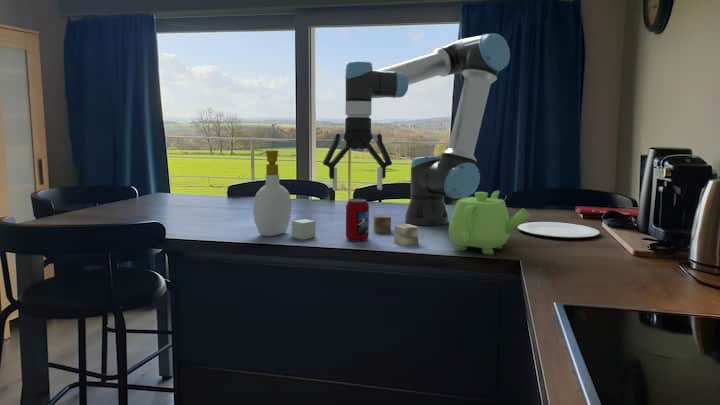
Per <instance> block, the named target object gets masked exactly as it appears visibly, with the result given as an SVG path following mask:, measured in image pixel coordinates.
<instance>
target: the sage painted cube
mask: <svg viewBox="0 0 720 405" xmlns="http://www.w3.org/2000/svg"><path fill="white" fill-rule="evenodd" d="M291 237H292V238H295V239H299V240H307V239H306V238H308V239H313V238H316V221H315V220H311V219H306V218H304V219H297V220H292V221H291ZM312 237H313V238H312Z"/></svg>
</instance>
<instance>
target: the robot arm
mask: <svg viewBox="0 0 720 405" xmlns="http://www.w3.org/2000/svg"><path fill="white" fill-rule="evenodd" d="M510 51H511V50H510V47H509V45H508V42H507V40H506V38H504V37H503V36H502V35H501V34H498V33H493V32H492V33H483V34H481V35H476V36H471V37H465V38H460V39H458V40H455V41H454V42H452V43H449V44H446V45H444V46H441V47H438V48H435V49H434V50H433V52H432V53H429V54H426V55H423V56H419V57H415V58H413V59H409V60H406V61H403V62H401V63H397V64H393V65H391V66H387V67H383V68H380V69H377V70H376V69H373V63H372V62H370V61H366V60H356V61H355V60H353V61H352V60H351V61H349V62H347V63H346V68H345V77H344V79H345V110H344V111H345V112H344V113H345V116H347V117H346V118H345V119H344V120H345V123H344V124H345V126H344V134H341V133H338V132H336V133H334V135H333V141H332V143H331V145H330V147H329V149H328V151H327V153H326V154H325V155H326V156H325V158H324V159H323V162H322V165H323V166H326V167H328V170H329V172H328V175H329V179H330V180H332V190H333V191H334V192H336V191H337V190H338V167H336V166H337V165H338V163H339V162H340V161H341V160H342V158H344V156H345V155H346V153H347V152H349V151H350V149H352V150H364V149H365V150H367V152H368V153H369V154H370V156H372V158H373V159H374V161H376V163H377V164H378V167H376V168H377V170H376V171H377V174H376V175H377V177H376V178H377V179H376V181H377V182H376V190H379V191H382V190H383V179H386V173H387V172H386V170H387V169H386V168H387V167H389V166H392V165H393V162H392V160H391V158H390V155H389V153H388V151H387V149H386V147H385V144H384V142H383V135H382V134H381V133H376V134H372V118H371V117H370V116H372V101H373V100H372V99H381V98H393V99H396V98H403V97H405V96H406V94H407V92H408V90H409V85H412V84H416V83H419V82H422V81H425V80H429V79H431V78H434V77H437V76H439V77H447V76H451V75H458V74H459V75H460V74H462V76H463V77H464V80H463V85H462V89H461V92H460V93H461V94H460V97H459V102H458V106H457V110H456V113H455V119H454V122H453V126H452V130H451V135H450V138H449V142H448V146H447V149H446V150H444V151H443V152H441V155H433V156H420V157H415V158H413V159H412V161H411V166H410V201H409V204H408V206H407V209H406V212H405V215H404V216H405V219H404V222H405V223H406V224H410V225H414V226H441V225H442V226H443V225H447V224H448V223H449V214H448V211H447V207H446V204H445V197H447V198H448V197H449V198H452V199H463V198H468V197H471V196H472V195H473V194H475V192H476V191H477V189H478V186H479V184H480V181H481V173H480V169H479V168H478V166H476V165H477V158H476V157H475V155H474V154H475V150H476V145H477V142H478V138H479V133H480V131H481V130H480V129H481V126H482V122H483V117H484V113H485V109H486V107H487V106H486V104H487V102H488V101H487V100H488V96H489V92H490V88H491V86H492V84H493V83H494V82H496V81H497V79H498V77H499V76H498V75H499V73H500V71H502V70H504V69H505V68H506V67H508V64H509V63H510V58H511V52H510ZM342 140H344V141H345V142H346V143H345V144H344V145H343V146H342V148H341V150H340V151H339V152H338V153H337V154H336V156H334V154H335V151H336V150H337V148H338V146H339V144H340V142H341V141H342ZM372 140H373V141H374V142H375V143H376V145H377V147H378V150H379V152H380V154H381V156H380V155H379V154H378V152H377V151H376V150H375V148H374V147H373V145H372V144H371V142H372ZM333 156H334V157H333ZM381 157H382V158H383V159H382V158H381ZM332 158H333V159H332Z"/></svg>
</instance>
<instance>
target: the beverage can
mask: <svg viewBox="0 0 720 405" xmlns="http://www.w3.org/2000/svg"><path fill="white" fill-rule="evenodd" d="M369 223H370V205H369V203H368V201H367V199H365V198H349V199H348V201H347V203H346V204H345V238H346V239H348V240H349V241H352V242H364V241H366V240H367V239H368V238H369V231H370V230H369V228H370V227H369V226H370V225H369Z"/></svg>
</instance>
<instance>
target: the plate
mask: <svg viewBox="0 0 720 405" xmlns="http://www.w3.org/2000/svg"><path fill="white" fill-rule="evenodd" d="M517 230H519V231H520V232H523V233H526V234H530V235H534V236H537V237H543V238H551V239H564V240H566V239H567V240H574V239H575V240H576V239H578V240H579V239H588V238H589V239H590V238H594V237H597V236H599V235H600V234H601V232H600V230H598V229H596V228H593V227H591V226H587V225H582V224H577V223H576V224H574V223H566V222H559V221H558V222H556V221H533V222H532V221H531V222H525V223H521V224H520V225H519V226H518V227H517Z"/></svg>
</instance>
